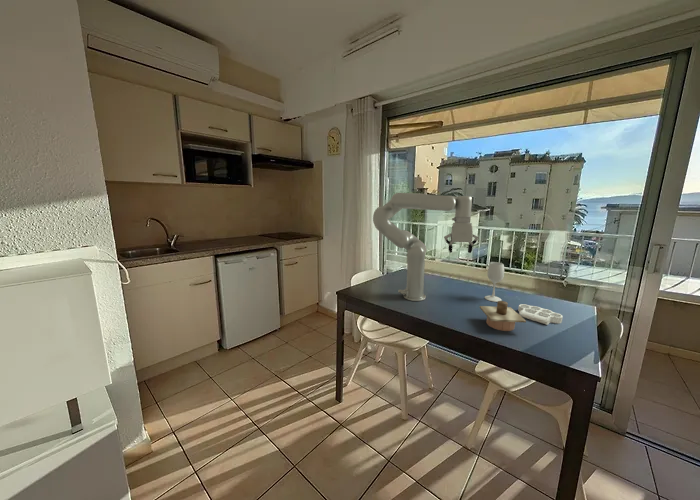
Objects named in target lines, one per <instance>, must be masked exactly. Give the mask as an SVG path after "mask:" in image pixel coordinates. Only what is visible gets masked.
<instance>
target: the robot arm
mask: <svg viewBox="0 0 700 500" xmlns="http://www.w3.org/2000/svg"><path fill="white" fill-rule="evenodd" d="M472 204H473V197H472V196H470V195H459V196H453V195H438V194H437V195H436V194H435V195H434V194H427V193H416V192H395V193H394V194H393V195H392V196H391V199H390V200H389V201H388V202H386V203H385V204H384V205H381V206H379V207H377V208H376V209H375V210H374V212H373V216H372V222H373V225H374V227H375V228H376V230H377V231H378V232H379V233H381V235H383V236H384V237H385V238H386V239H387V240H389V241H390V242H391V243H392V244H394V245H395V246H396V247H397V248H399V249H405V250H407V252H406V259H407V260H406V262H407V265H406V266H407V268H406V287H405V288H404V289H398V294H400V295H403V298H404V299H406V300H408V301H410V302H411V301H412V302H422V301H425V300H426V297H427V296H426V294H424V287H425V285H424V284H425V280H424V279H425V262H426V261H425V260H426V259H425V258H426V252H427V246H426V244H425V243H424V242H423V241H422V240H420V239H419V238H418V237H417V236H416V235H414V234H413V233H411V232H410V231H408V230H406V229H405V230H404V229H400V228H399V227H398V226H397V225H396V224H394V223H393V222H391V221H390V219H391V218H393V217H394V216H395V215H397V214H398V212H400V211H401V210H402V209H404V210H405V209H408V210H421V211H425V210H426V211H427V210H429V211H440V212H441V211H443V212H449V211H453V210H455V211H454V212H455V214H454V217H452V218H451V221H452V222H453V223H452V225H451V231H450V232H451V233H449V234H447V235H445V236H443V238H444V240H445V241H444V242H446V243H447V244H448V252H449V253H451V254H452V253H453V244H454V243H468V244H469V245H468V247H467V252H468V253H469V254H472V251H473V246H474V245H475V244H476V243H477V242H478V240H479V236H477V235H475V234H474V233H473V232H474V231H473V230H474V229H473V224H472V223H473V222H471V218H472ZM448 238H450V240H449V239H448Z"/></svg>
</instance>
